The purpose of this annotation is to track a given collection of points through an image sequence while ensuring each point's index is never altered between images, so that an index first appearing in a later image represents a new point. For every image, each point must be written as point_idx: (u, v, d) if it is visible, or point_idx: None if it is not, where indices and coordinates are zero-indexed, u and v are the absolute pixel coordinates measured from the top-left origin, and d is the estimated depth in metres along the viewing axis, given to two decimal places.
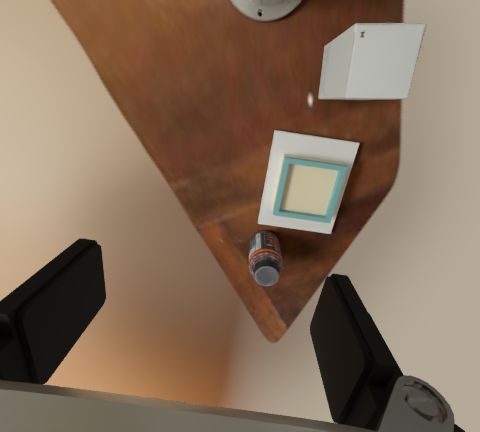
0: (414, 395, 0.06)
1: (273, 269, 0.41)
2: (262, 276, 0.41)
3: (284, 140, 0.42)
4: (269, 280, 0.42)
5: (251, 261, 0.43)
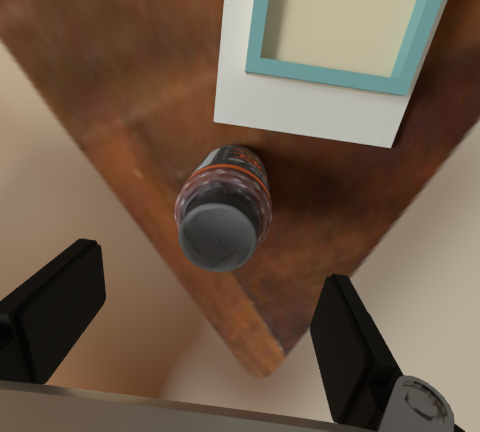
0: (414, 395, 0.06)
1: (235, 216, 0.12)
2: (203, 239, 0.13)
3: None
4: (226, 253, 0.13)
5: (178, 199, 0.15)
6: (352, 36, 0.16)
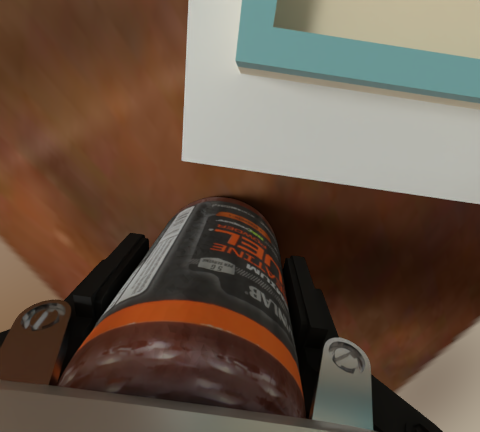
0: (339, 354, 0.07)
1: None
2: None
3: None
4: None
5: None
6: None
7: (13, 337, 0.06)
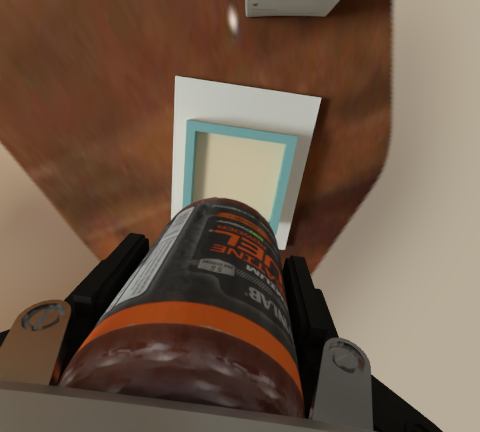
0: (339, 354, 0.07)
1: None
2: None
3: (193, 93, 0.25)
4: None
5: None
6: (244, 201, 0.27)
7: (13, 337, 0.06)
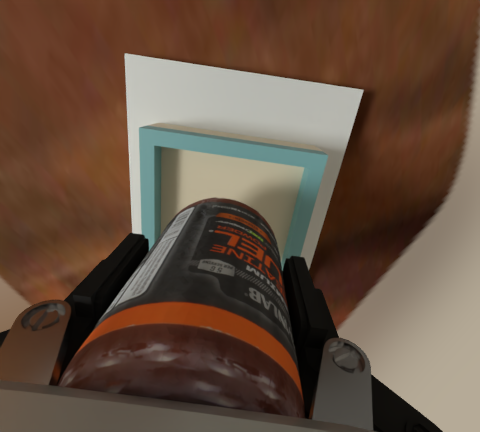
0: (339, 354, 0.07)
1: None
2: None
3: (156, 83, 0.15)
4: None
5: None
6: None
7: (13, 337, 0.06)
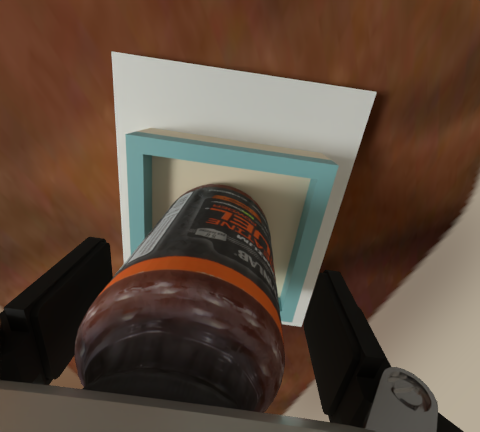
0: (400, 386, 0.06)
1: None
2: None
3: (146, 84, 0.14)
4: None
5: None
6: None
7: None
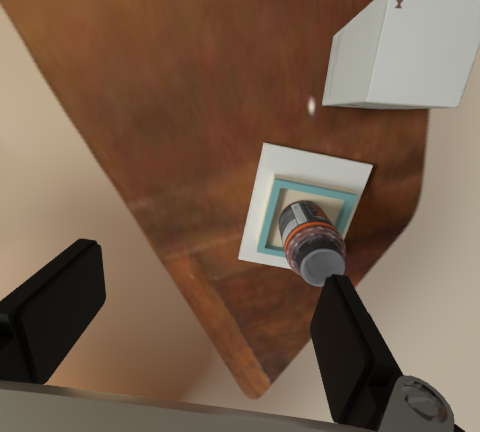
0: (414, 395, 0.06)
1: (336, 256, 0.22)
2: (315, 268, 0.23)
3: (275, 156, 0.32)
4: (327, 275, 0.23)
5: (292, 242, 0.25)
6: None
7: None
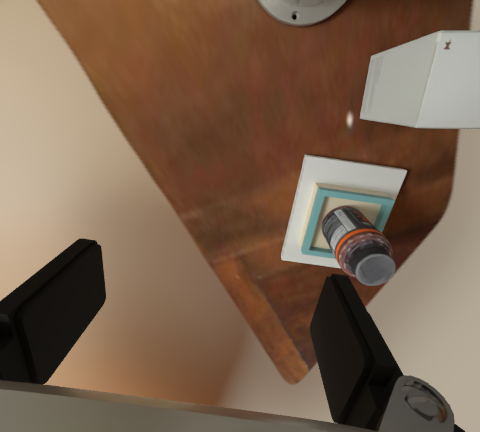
0: (414, 395, 0.06)
1: (388, 259, 0.26)
2: (369, 270, 0.26)
3: (317, 167, 0.36)
4: (379, 276, 0.27)
5: (344, 247, 0.28)
6: None
7: None
